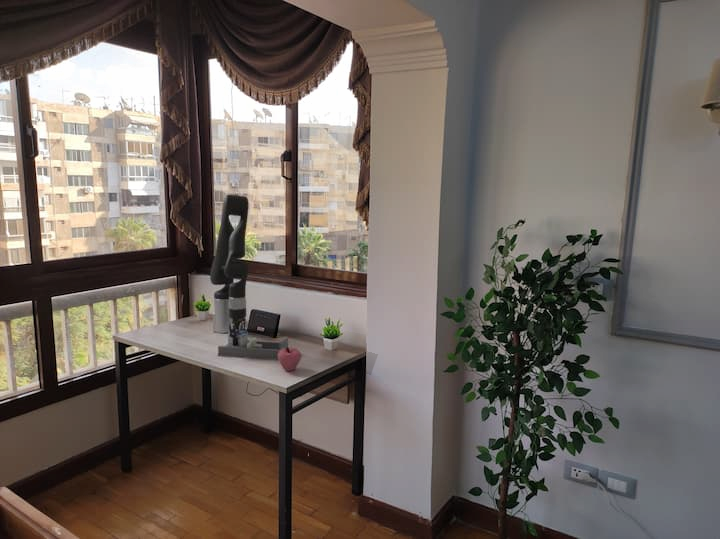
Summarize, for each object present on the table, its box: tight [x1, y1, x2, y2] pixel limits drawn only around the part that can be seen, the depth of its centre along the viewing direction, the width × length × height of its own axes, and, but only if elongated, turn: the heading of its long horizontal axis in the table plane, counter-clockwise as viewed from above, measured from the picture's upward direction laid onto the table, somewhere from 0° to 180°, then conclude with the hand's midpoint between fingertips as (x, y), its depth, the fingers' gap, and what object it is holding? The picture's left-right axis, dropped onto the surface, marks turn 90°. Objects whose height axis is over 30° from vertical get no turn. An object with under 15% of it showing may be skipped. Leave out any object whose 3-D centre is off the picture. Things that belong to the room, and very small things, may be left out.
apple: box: [278, 347, 302, 372], centre depth 214 cm, size 10×9×10 cm
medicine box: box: [227, 329, 249, 348], centre depth 235 cm, size 8×4×9 cm, turn 63°
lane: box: [217, 336, 289, 361], centre depth 234 cm, size 28×13×7 cm, turn 82°
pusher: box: [247, 337, 262, 348], centre depth 234 cm, size 5×9×4 cm, turn 172°
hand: (237, 343), depth 235 cm, fingers closed on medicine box, 5 cm apart
